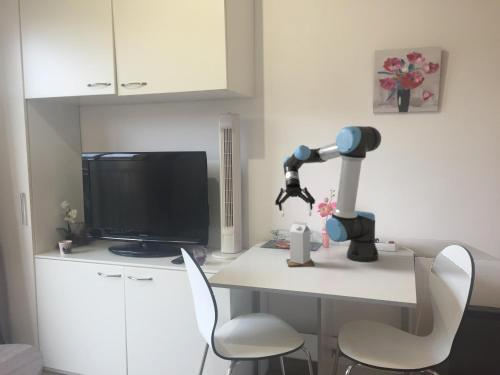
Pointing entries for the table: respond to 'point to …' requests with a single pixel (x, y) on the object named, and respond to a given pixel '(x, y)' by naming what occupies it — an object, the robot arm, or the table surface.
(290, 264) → the walnut board
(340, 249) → the table surface
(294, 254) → the milk carton
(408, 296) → the table surface
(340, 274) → the table surface
